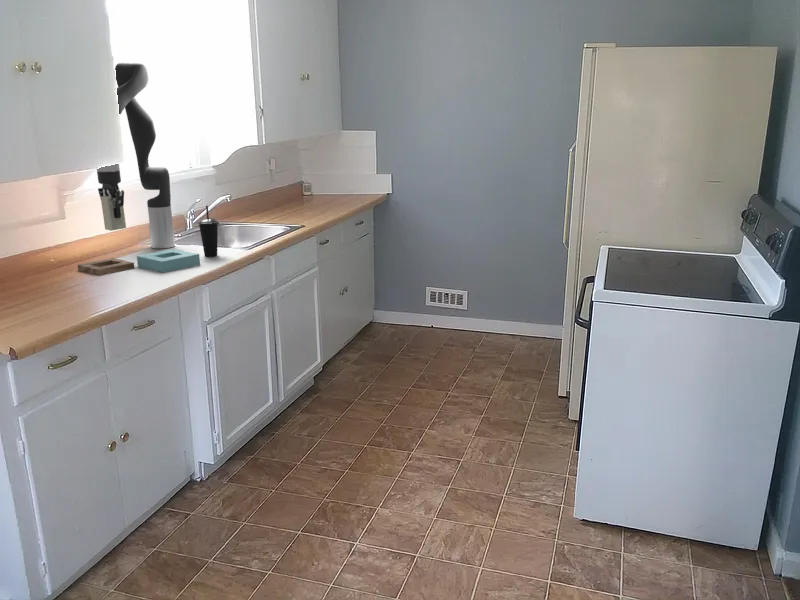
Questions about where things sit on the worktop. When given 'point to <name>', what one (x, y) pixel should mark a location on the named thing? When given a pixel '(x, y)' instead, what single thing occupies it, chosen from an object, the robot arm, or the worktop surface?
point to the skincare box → (112, 215)
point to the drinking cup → (209, 235)
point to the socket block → (168, 260)
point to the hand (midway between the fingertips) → (114, 217)
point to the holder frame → (105, 266)
